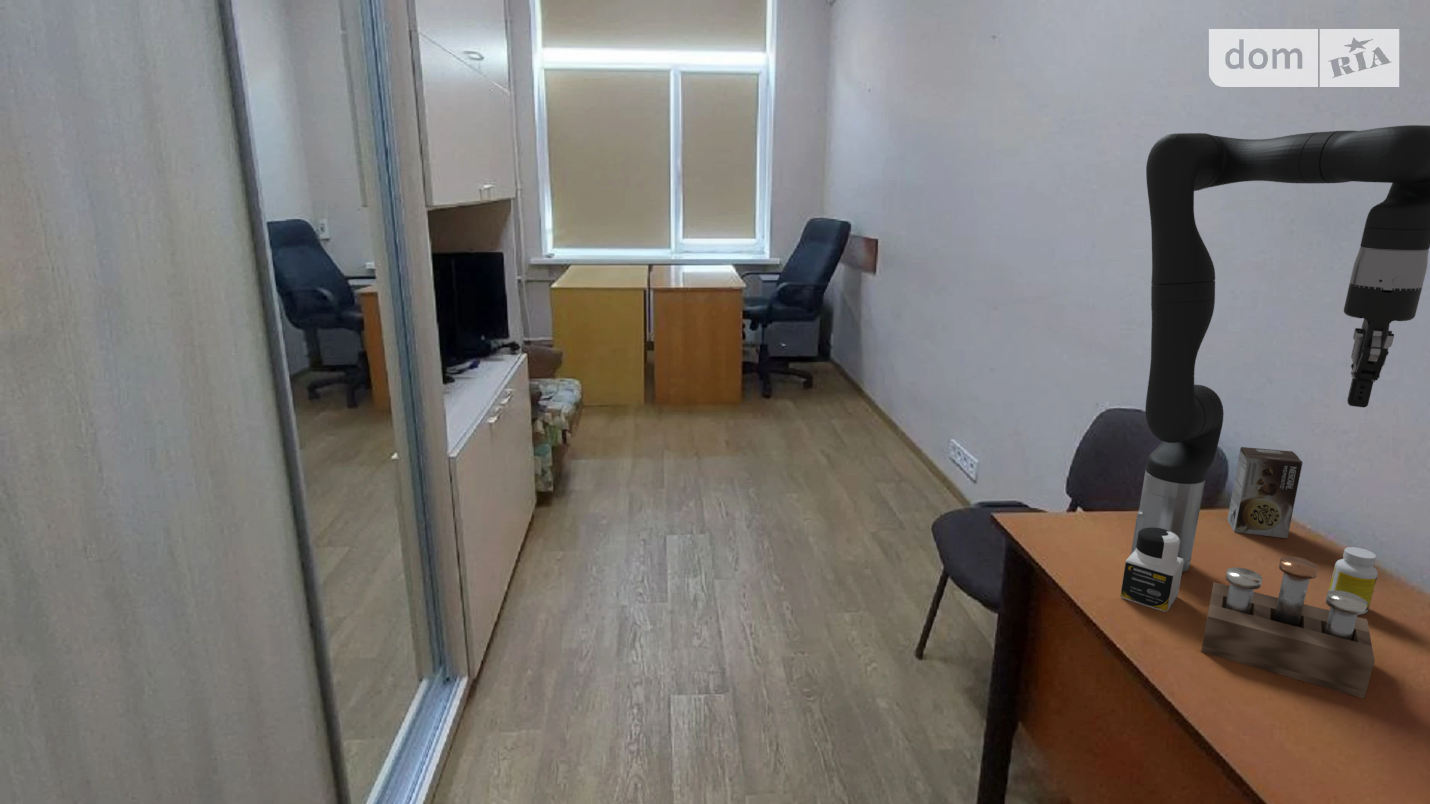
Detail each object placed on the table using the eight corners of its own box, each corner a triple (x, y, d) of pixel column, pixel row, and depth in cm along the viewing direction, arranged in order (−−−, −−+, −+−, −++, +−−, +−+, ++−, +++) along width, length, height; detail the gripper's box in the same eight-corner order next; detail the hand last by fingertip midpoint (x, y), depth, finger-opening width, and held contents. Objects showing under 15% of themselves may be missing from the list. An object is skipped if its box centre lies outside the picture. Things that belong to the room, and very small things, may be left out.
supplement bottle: (1375, 616, 124) (1390, 562, 121) (1337, 613, 125) (1350, 558, 122) (1356, 599, 129) (1369, 546, 126) (1319, 596, 130) (1331, 543, 127)
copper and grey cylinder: (1266, 628, 113) (1280, 565, 110) (1267, 614, 116) (1280, 553, 113) (1304, 638, 110) (1319, 574, 107) (1303, 624, 114) (1317, 561, 111)
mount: (1201, 651, 115) (1207, 616, 113) (1207, 615, 125) (1213, 582, 123) (1364, 698, 105) (1374, 660, 103) (1357, 655, 114) (1367, 619, 112)
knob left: (1214, 636, 117) (1226, 576, 114) (1216, 623, 121) (1227, 564, 118) (1249, 646, 115) (1262, 585, 112) (1250, 632, 118) (1262, 572, 115)
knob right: (1312, 663, 110) (1328, 600, 108) (1311, 648, 114) (1326, 587, 111) (1351, 674, 108) (1368, 610, 105) (1349, 658, 111) (1365, 596, 109)
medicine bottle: (1119, 598, 130) (1129, 533, 126) (1132, 582, 135) (1142, 519, 131) (1166, 613, 125) (1178, 546, 122) (1178, 596, 130) (1189, 531, 127)
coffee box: (1278, 526, 156) (1294, 450, 151) (1288, 539, 150) (1305, 461, 145) (1225, 519, 159) (1240, 445, 154) (1233, 532, 153) (1248, 456, 148)
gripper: (1347, 275, 111) (1321, 391, 116) (1353, 286, 101) (1325, 412, 106) (1416, 278, 107) (1386, 398, 112) (1430, 290, 97) (1396, 422, 101)
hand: (1356, 405), depth 109 cm, fingers closed
